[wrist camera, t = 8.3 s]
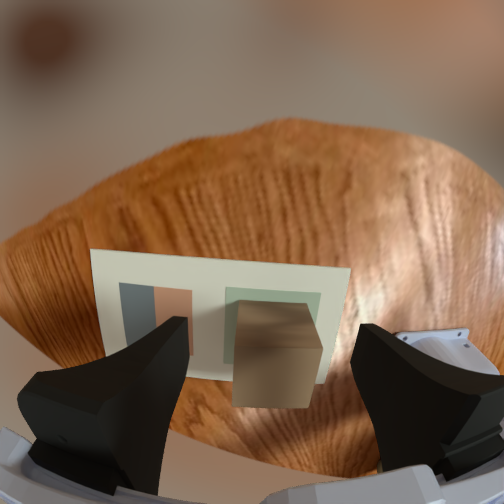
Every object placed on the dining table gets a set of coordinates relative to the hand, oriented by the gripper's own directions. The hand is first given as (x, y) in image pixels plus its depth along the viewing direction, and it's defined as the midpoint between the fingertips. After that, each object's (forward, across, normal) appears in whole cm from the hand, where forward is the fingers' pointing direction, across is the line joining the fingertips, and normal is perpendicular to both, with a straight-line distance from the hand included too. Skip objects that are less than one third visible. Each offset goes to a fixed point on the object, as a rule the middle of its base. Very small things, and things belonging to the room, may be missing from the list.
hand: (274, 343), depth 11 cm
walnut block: (+9, -1, +5) cm, 11 cm away
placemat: (+10, +4, +5) cm, 12 cm away
